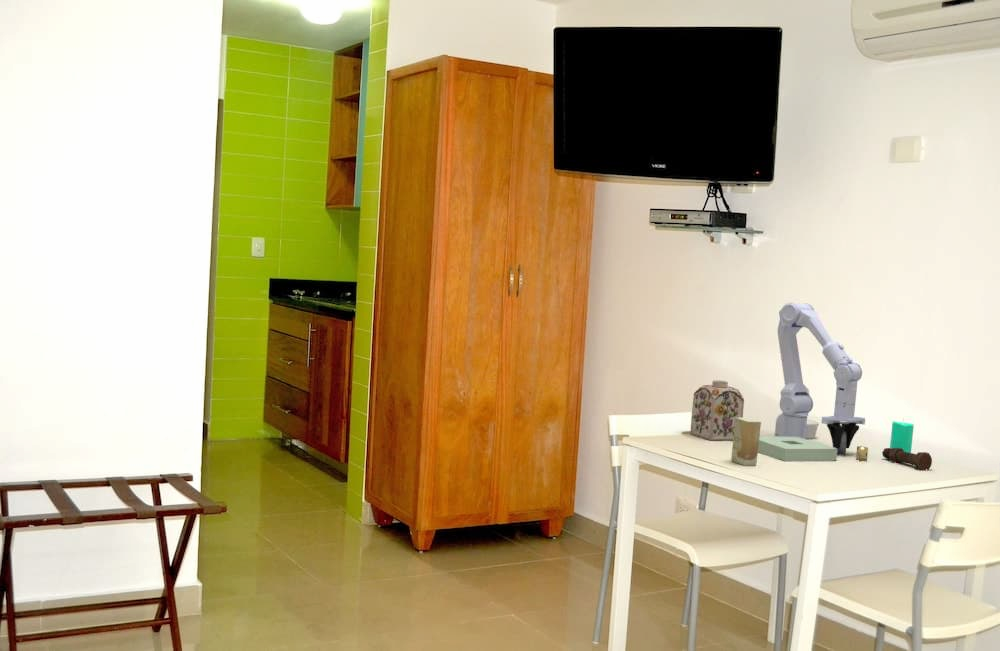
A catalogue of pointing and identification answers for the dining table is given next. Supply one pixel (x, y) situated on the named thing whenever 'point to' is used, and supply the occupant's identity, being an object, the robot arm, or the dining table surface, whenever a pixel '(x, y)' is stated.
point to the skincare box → (746, 441)
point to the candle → (902, 436)
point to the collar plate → (796, 449)
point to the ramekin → (811, 429)
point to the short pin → (862, 453)
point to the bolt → (908, 457)
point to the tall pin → (843, 444)
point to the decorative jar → (716, 411)
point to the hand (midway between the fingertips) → (840, 447)
